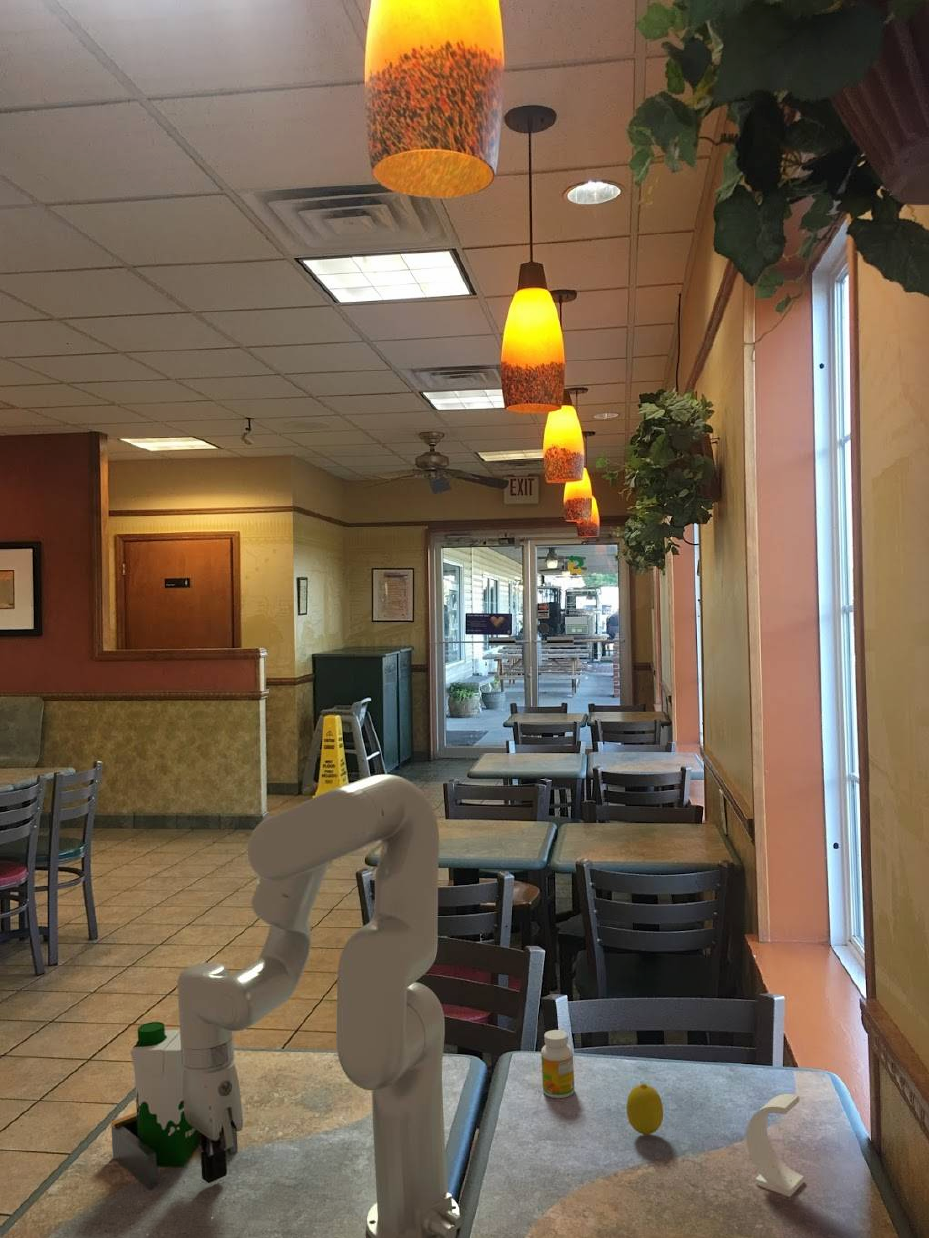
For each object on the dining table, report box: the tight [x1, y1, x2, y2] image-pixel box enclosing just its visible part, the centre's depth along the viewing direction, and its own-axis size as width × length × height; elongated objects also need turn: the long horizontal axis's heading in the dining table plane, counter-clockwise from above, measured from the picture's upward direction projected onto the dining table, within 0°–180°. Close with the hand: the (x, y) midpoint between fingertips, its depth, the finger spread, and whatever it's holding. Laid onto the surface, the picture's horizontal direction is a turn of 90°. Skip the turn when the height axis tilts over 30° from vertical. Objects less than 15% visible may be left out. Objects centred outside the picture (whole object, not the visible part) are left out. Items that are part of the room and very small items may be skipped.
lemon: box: [626, 1083, 664, 1138], centre depth 152 cm, size 6×6×8 cm
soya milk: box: [130, 1021, 199, 1168], centre depth 154 cm, size 9×9×20 cm
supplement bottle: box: [540, 1029, 575, 1099], centre depth 169 cm, size 5×5×10 cm
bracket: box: [110, 1111, 239, 1191], centre depth 154 cm, size 13×14×6 cm
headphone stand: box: [745, 1093, 805, 1198], centre depth 138 cm, size 5×6×12 cm
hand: (214, 1177), depth 145 cm, fingers closed
